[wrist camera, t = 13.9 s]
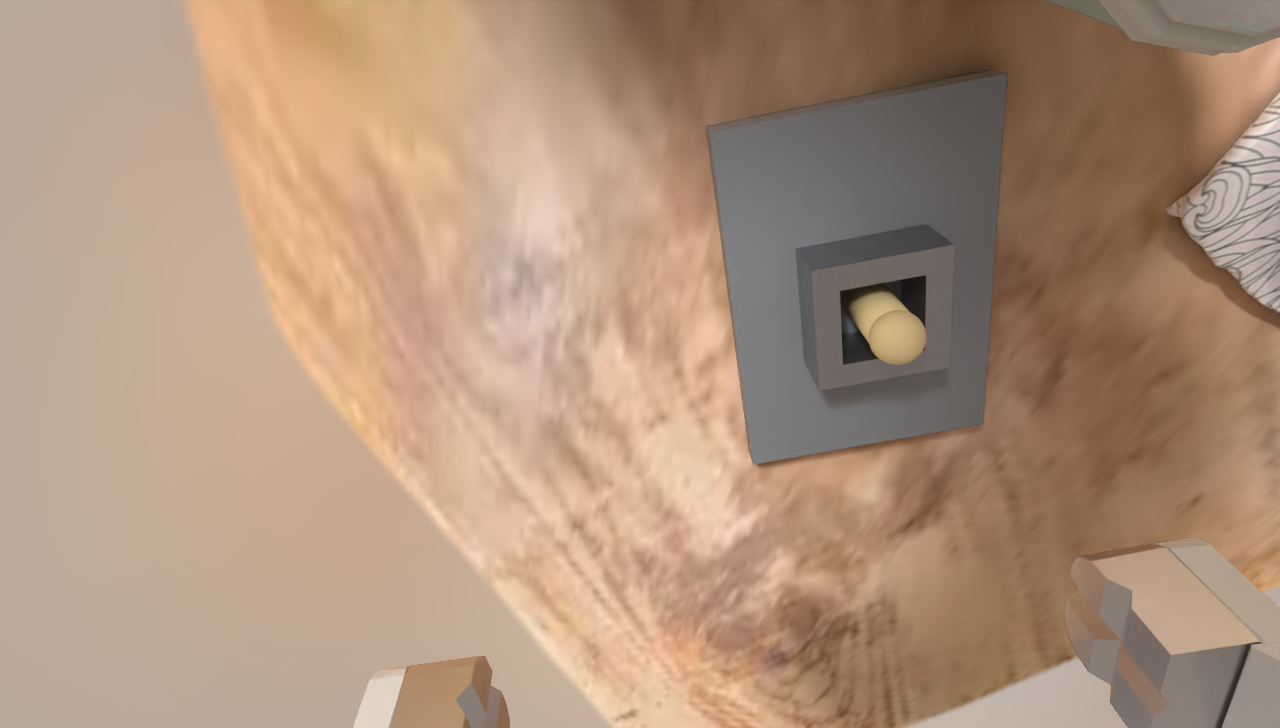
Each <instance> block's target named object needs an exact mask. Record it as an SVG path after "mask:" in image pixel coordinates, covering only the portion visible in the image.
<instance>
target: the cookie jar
mask: <svg viewBox="0 0 1280 728" xmlns="http://www.w3.org/2000/svg"><path fill="white" fill-rule="evenodd" d="M1166 210H1167V212H1168V213H1169V214H1170V215H1172V216H1176V217H1180V218H1181V221H1182V225H1183V227H1184V228H1185V230H1186V232H1187V233H1188V234H1189V235H1190V237H1191V239H1193V240H1195V241H1196V242H1197V243H1198V244H1199V245H1200V246H1202V247H1203V249H1204V250H1205V252H1206V254H1207V256H1208V257H1209V258H1211V259H1212V261H1213V263H1214V265H1215V267H1219V268H1226V269H1227V270H1228V271H1229V272H1230V273H1231V274H1232V275H1233V276H1234V277H1235V278H1236V279H1237V280H1238V281H1239V282H1240V284H1241V286H1242V288H1243V289H1244V290H1245V291H1246V292H1247V293H1248V294H1249V295H1251V296H1252V297H1254V298H1255V299H1257V300H1258V301H1259V302H1260V303H1262V304H1263V305H1264V306H1265V307H1268V308H1270V309H1273V310H1275V311H1277V312H1279V313H1280V92H1279V93H1278V95H1277V96H1276V97H1275V98H1274V99H1273V100H1272V101H1271V103H1270V104H1269V105H1268V106H1267V107H1266V108H1265V109H1264V110H1263V112H1262V113H1261V114H1260V115H1259V116H1258V117H1257V118H1256V120H1255V121H1254V122H1253V123H1252V124H1251V125H1250V126H1249V127H1248V129H1247V130H1246V131H1245V132H1244V133H1243V134H1242V135H1241V136H1240V138H1239V139H1238V140H1237V141H1236V142H1235V143H1234V144H1233V146H1232V147H1231V148H1230V149H1229V150H1228V151H1227V152H1226V153H1225V155H1224V156H1223V157H1222V158H1221V159H1220V160H1219V161H1218V163H1217V164H1216V165H1215V166H1214V167H1213V168H1212V169H1211V170H1210V172H1209V173H1208V174H1207V175H1206V176H1205V177H1204V178H1203V180H1202V181H1201V182H1200V183H1199V184H1198V185H1196V186H1195V187H1194V188H1192V189H1191V190H1190V191H1189V192H1187V193H1186V194H1185V195H1184V196H1182V197H1181V198H1180V199H1179V200H1177V201H1176V202H1174V203H1173V204H1172V205H1171V206H1169V207H1168V208H1167V209H1166Z"/></svg>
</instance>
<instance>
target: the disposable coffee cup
mask: <svg viewBox="0 0 1280 728" xmlns="http://www.w3.org/2000/svg"><path fill="white" fill-rule="evenodd" d="M1046 1H1049V2H1052V3H1054V4H1057V5H1060V6H1062V7H1065V8H1068V9H1070V10H1073V11H1076V12H1078V13H1081V14H1084V15H1086V16H1089V17H1092V18H1095V19H1097V20H1100V21H1103V22H1105V23H1108V24H1111V25H1113V26H1116V27H1119V28H1121V29H1122V30H1123V31H1124V32H1125V33H1126V35H1127V36H1128V37H1129V38H1130V40H1131V41H1137V42H1142V43H1147V44H1153V45H1158V46H1164V47H1169V48H1174V49H1180V50H1185V51H1191V52H1196V53H1201V54H1207V55H1212V56H1214V55H1217V54H1219V53H1237V52H1240V51H1242V50H1245V49H1248V48H1251V47H1253V46H1256V45H1259V44H1261V43H1264V42H1267V41H1270V40H1272V39H1275V38H1278V37H1280V0H1046Z"/></svg>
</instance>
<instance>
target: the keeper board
mask: <svg viewBox="0 0 1280 728" xmlns="http://www.w3.org/2000/svg"><path fill="white" fill-rule="evenodd" d="M1006 84H1007V73H1003V72H999V71H995V70H988V71H983V72H978V73H973V74H968V75H963V76H958V77H953V78H948V79H943V80H938V81H933V82H928V83H923V84H918V85H912V86H907V87H902V88H897V89H892V90H887V91H882V92H877V93H872V94H867V95H862V96H857V97H852V98H847V99H842V100H837V101H832V102H827V103H822V104H817V105H812V106H807V107H802V108H797V109H792V110H787V111H782V112H777V113H772V114H767V115H762V116H757V117H752V118H747V119H742V120H737V121H732V122H727V123H722V124H717V125H712V126H707V127H706V130H707V138H708V145H709V153H710V160H711V168H712V176H713V183H714V191H715V198H716V206H717V213H718V221H719V228H720V236H721V244H722V251H723V259H724V266H725V274H726V281H727V289H728V296H729V304H730V312H731V319H732V327H733V334H734V342H735V349H736V357H737V364H738V372H739V380H740V387H741V395H742V402H743V410H744V417H745V425H746V432H747V440H748V447H749V452H750V455H751V459H752V462H753V465H754V464H759V463H765V462H771V461H776V460H782V459H788V458H793V457H799V456H805V455H811V454H816V453H822V452H828V451H833V450H839V449H845V448H850V447H856V446H862V445H867V444H873V443H879V442H884V441H890V440H896V439H902V438H907V437H913V436H919V435H924V434H930V433H936V432H941V431H947V430H953V429H958V428H964V427H970V426H975V425H981V424H983V420H984V406H985V391H986V376H987V362H988V347H989V332H990V318H991V303H992V289H993V274H994V259H995V245H996V230H997V216H998V201H999V186H1000V172H1001V157H1002V142H1003V128H1004V113H1005V99H1006ZM923 224H928V225H929V226H930V227H932V228H933V229H934V230H936V231H937V232H938V233H940V234H941V235H942V236H944V237H945V238H946V239H948V240H949V241H950V242H952V243H953V244H954V266H953V291H952V315H951V340H950V365H949V368H944V369H938V370H933V371H927V372H921V373H916V374H910V375H905V376H899V377H893V378H888V379H882V380H876V381H871V382H865V383H860V384H854V385H848V386H843V387H837V388H832V389H826V390H820V391H819V389H818V387H817V385H816V383H815V381H814V380H813V378H812V376H811V374H810V372H809V370H808V368H807V366H806V364H805V362H804V355H803V342H802V329H801V316H800V303H799V290H798V276H797V263H796V250H795V249H796V248H801V247H806V246H812V245H817V244H822V243H828V242H833V241H838V240H843V239H849V238H854V237H859V236H865V235H870V234H875V233H881V232H886V231H891V230H897V229H902V228H907V227H913V226H918V225H923ZM901 300H902V280H896V281H891V282H886V283H880V284H875V285H869V286H864V287H858V288H853V289H848V290H842V291H840V308H841V330H842V334H845V333H851V332H856V331H860V332H861V333H862V334H863V336H864V337H865V338H866V340H867V341H868V343H869V345H870V348H871V350H872V352H873V353H874V354H875V355H876V356H877V357H878V358H879V359H880V360H882V361H883V362H886V363H889V364H894V365H901V364H906V363H909V362H911V361H913V360H914V359H916V358H917V357H918V356H919V355H920V354H921V352H922V351H923V349H924V347H925V344H926V339H927V336H926V330H925V327H924V325H923V323H922V322H921V320H920V319H919V318H918V317H916V316H915V315H914V314H912V313H910V312H909V311H908V310H907V308H906V307H905V306H904V305H903V304H902V303H901Z"/></svg>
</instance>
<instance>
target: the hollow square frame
mask: <svg viewBox="0 0 1280 728" xmlns="http://www.w3.org/2000/svg"><path fill="white" fill-rule="evenodd" d="M795 250H796V263H797V276H798V290H799V303H800V316H801V329H802V342H803V355H804V362H805V364H806V366H807V368H808V370H809V372H810V374H811V376H812V378H813V380H814V381H815V383H816V385H817V387H818V389H819V391H820V390H826V389H832V388H837V387H843V386H848V385H854V384H860V383H865V382H871V381H876V380H882V379H888V378H893V377H899V376H905V375H910V374H916V373H921V372H927V371H933V370H938V369H944V368H949V365H950V340H951V315H952V291H953V266H954V244H953V243H952V242H950V241H949V240H948V239H946V238H945V237H944V236H942V235H941V234H940V233H938V232H937V231H936V230H934V229H933V228H932V227H930V226H929V225H928V224H923V225H918V226H913V227H907V228H902V229H897V230H891V231H886V232H881V233H875V234H870V235H865V236H859V237H854V238H849V239H843V240H838V241H833V242H828V243H822V244H817V245H812V246H806V247H801V248H796V249H795ZM896 280H902V300H901V303H902V304H903V305H904V306H905V307H906V308H907V310H908V311H909V312H910V313H912V314H914V315H915V316H916V317H918V318H919V319H920V320H921V322H922V323H923V325H924V327H925V330H926V336H927V339H926V344H925V347H924V349H923V351H922V352H921V354H920V355H919V356H918V357H917V358H916V359H914V360H913V361H911V362H909V363H906V364H901V365H894V364H889V363H886V362H883V361H882V360H880V359H879V358H878V357H877V356H876V355H875V354H874V353H873V352H872V350H871V348H870V345H869V343H868V341H867V340H866V338H865V337H864V336H863V334H862V333H861V332H860V331H856V332H851V333H845V334H842V330H841V308H840V291H842V290H848V289H853V288H858V287H864V286H869V285H875V284H880V283H886V282H891V281H896Z"/></svg>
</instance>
